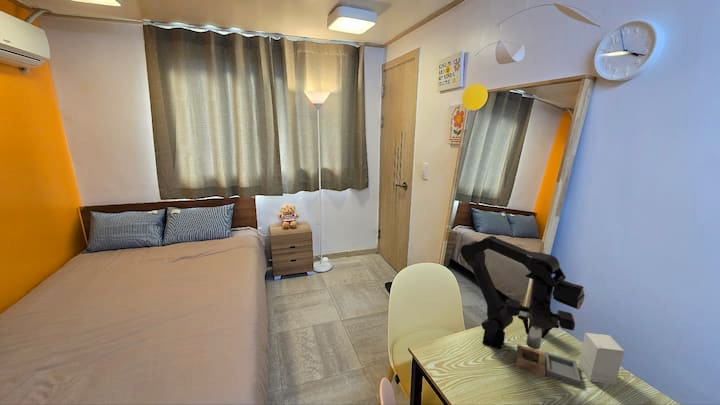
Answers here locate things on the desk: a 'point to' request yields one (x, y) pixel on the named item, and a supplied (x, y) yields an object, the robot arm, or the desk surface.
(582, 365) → the supplement box
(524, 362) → the socket block
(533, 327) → the grey and red cylinder
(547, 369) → the tray
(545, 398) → the desk surface
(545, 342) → the desk surface
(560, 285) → the robot arm
